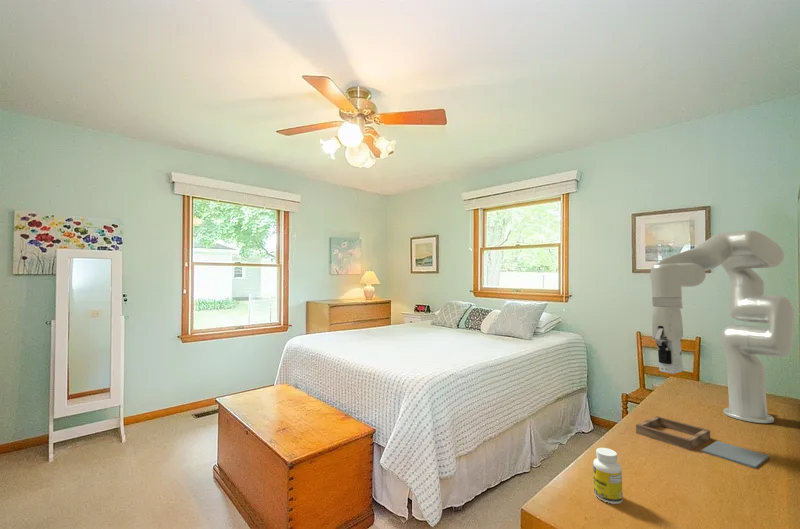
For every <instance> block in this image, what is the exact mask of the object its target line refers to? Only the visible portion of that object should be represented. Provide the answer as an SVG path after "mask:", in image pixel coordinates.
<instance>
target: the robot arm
mask: <svg viewBox="0 0 800 529" xmlns="http://www.w3.org/2000/svg"><path fill="white" fill-rule="evenodd" d="M784 258H785V253H784V250H783V248H782V247H781V246H780V245H779V244H778V243H777V242H775V241H774V240H772V239H771V238H770V237H768V236H766V235H765V234H763V233H761V232H759V231H756V230H752V229H748V230H739V231H737V230H736V231H730V232H729V231H728V232H721V233H717V234H715V235H713V236H711V237H710V238H708V239H706V240H705V241H703V242H701V244H699V245H698V246H696V247H694V248H690V249H688V250H684V251H682V252H679V253H676V254H673V255H670V256H668V257H665V258H664V259H662V260H660V261H659V262H656V264H655V263H654V264H653V265H651V268H650V274H649V275H650V280H651V281H650V282H651V300H652V302H651V303H652V308H653V309H652V319H651V335H652V336H651V337H652V339H653V340H654V341H655V342H656V343H655V344H656V346H657V347H656V350H657V352H658V353H657V354H658V355H657V357H658V364H659V363H665V364H671V363H672V362H671V351H669V348H670V341H672V340H677V339H680V340H681V341H682V338H683V336H684V330H683V329H684V326H683V318H682V310H681V309H683V294H682V293H683V290H682V289H683V287H685V288H686V287H687V288H690V287H692V288H693V287H697V286H699V285H701V284H702V283H703V282H704V281H705V279H706V271H711V270H713V269H716V268H718V266H720V265H721V266H722V268H723V269H724V271H725V272H726V274H727V276H728V277H729V279H730V282H731V283H730V284H731V286H730V297H729V298H730V299H729V315H730V316H731V317H732V318H733V320H736V321H739V322H745V323H749V322H750V323H759V324H760V323H761V324H769V326H759V325H758V326H757V325H746V324H732V325H727V326H726V327H724V328H723V329H722V330H721V331H722V332H721V342H722V344H723V348H724V352H725V358H726V371H727V372H726V373H727V374H726V375H727V390H728V391H727V392H728V407H725V408H723V414H724V415H726V416H728V417H730V418H733V419H736V420H741V421H745V422H750V423H754V424H755V423H756V424H772V423H774V422H775V418H774V417H773V416H772V415H770V414H769V413H768V407H767V405H768V404H767V392H766V390H767V388H766V373H765V367H764V364H763V362H761V360H760V359H759V357H758V356H757V355H761V356H766V357H774V358H775V357H776V358H786V357H788V356H789V355H790V354H791V352H792V350H793V343H794V342H793V341H794V326H795V325H794V322H795V310H794V305H793V302H791V301H790V299H788V298H787V297H784V296H782V295H775V294H772V295H771V294H770V295H767V294H765V292H764V291H765V282H764V280H763V278H762V277H761V276H760V275H759V273H757V272H756V271H755V270H754V269H769V268H770V269H771V268H775V267H778V266H780V265H781V264H782V263H783V262H784ZM662 338H667V340H664V339H662ZM664 342H666V345H665V343H664Z"/></svg>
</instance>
